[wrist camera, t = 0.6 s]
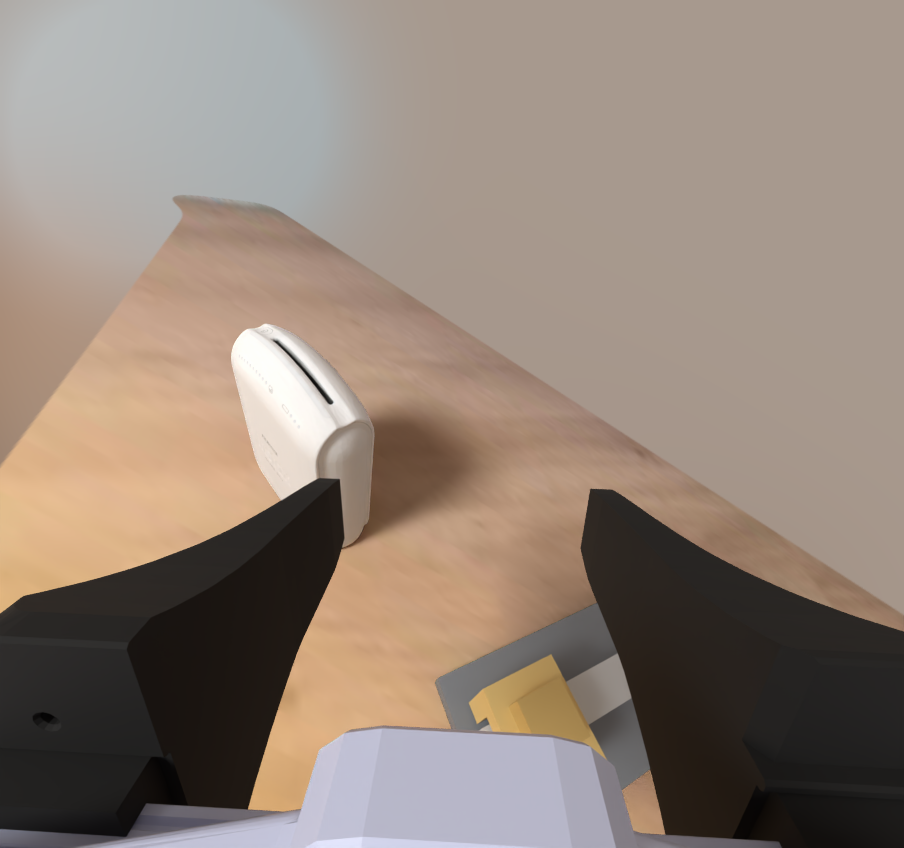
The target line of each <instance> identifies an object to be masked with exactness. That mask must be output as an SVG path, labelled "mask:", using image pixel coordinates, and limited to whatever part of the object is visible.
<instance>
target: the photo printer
mask: <svg viewBox="0 0 904 848" xmlns="http://www.w3.org/2000/svg"><path fill="white" fill-rule="evenodd" d="M231 362H232V367H233V371H234V375H235V379H236V383H237V387H238V391H239V396H240V400H241V404H242V408H243V412H244V416H245V419H246V424H247V427H248V431H249V436H250V440H251V443H252V447H253V451H254V455H255V458H256V461H257V463H258V465H259V467H260V469H261V471H262V473H263V474H264V476H265V478H266V479H267V481H268V482H269V484H270V485H271V487H272V488H273V489H274V491H275V492H276V494H277V495H278V497H279V498H280V500H283V499H284V498H286V497H288V496H289V495H291V494H293V493H294V492H296V491H297V490H299V489H301V488H302V487H304V486H305V485H307V484H309V483H311V482H312V481H314V480H316V479H318V478H331V479H340V487H341V499H342V511H343V523H344V536H345V539H344V542H343V546H342V548H343V547H346V546H348V545H350V544H351V543H353V542H354V541H355V540H356V539H357V538H358V537H359V536H360V534H361V532H362V530H363V527H364V525H365V524H367V523H368V520H369V513H370V495H371V480H372V465H373V451H374V436H375V434H374V427H373V425H372V422H371V420H370V418H369V416H368V414H367V411H366V409H365V408H364V406H363V405H362V403H361V402H360V400H359V399H358V397H357V396H356V395H355V393H354V392H353V391H352V389H351V388H350V387H349V386H348V384H347V383H346V382H345V380H344V379H343V378H342V377H341V376H340V375H339V373H338V372H337V370H336V369H335V368H334V367H332V366H331V364H330V363H329V362H328V361H327V360H326V359H324V358H323V356H322V355H321V354H319V353H318V352H317V351H316V350H315V349H314V348H313V347H311V346H310V345H309V344H308V343H307V342H305V341H304V340H302V339H301V338H300V337H298V336H297V335H295V334H294V333H292V332H290V331H288V330H286V329H283V328H281V327H278V326H275V325H272V324H264V325H262V326H260V327H258V328H253V329H247V330H245V331H244V332H243V333H242V334H241V335H240V336H239V337H238V338H237V340H236V342H235V343H234V346H233V349H232V353H231Z"/></svg>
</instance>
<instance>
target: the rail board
mask: <svg viewBox="0 0 904 848" xmlns="http://www.w3.org/2000/svg"><path fill="white" fill-rule="evenodd" d="M549 655H552V657H553V659H554V661H555V662H556V664H557V666H558V668H559V670H560V672H561V674H562V676H563V678H564V679H565V681H566V683H567V685H568V687H569V689H570V691H571V693H572V695H573V696H574V698H575V700H576V702H577V704H578V706H579V708H580V710H581V712H582V713H583V715H584V717H585V719H586V721H587V723H588V725H589V727H590V729H591V731H592V732H593V734H594V736H595V738H596V740H597V742H598V744H599V746H600V748H601V749H602V751H603V753H604V755H605V757H606V759H607V761H609V762H610V763H611V764H612V765H614V766H615V769H616V773H617V776H618V780H619V783H620V787H621V790H622V789H624V788H625V787H626V786H628V785H629V784H631V783H632V782H633V781H635V780H636V779H637V778H639V777H640V776H641V775H643V774H644V773H646V772H647V771H648V770H650V766H649V761H648V757H647V753H646V749H645V746H644V742H643V738H642V734H641V731H640V727H639V723H638V719H637V715H636V712H635V708H634V705H633V701H632V698H631V694H630V691H629V687H628V684H627V680H626V677H625V673H624V670H623V667H622V664H621V661H620V659H619V656H618V653H617V650H616V648H615V645H614V643H613V641H612V638H611V636H610V633H609V631H608V628H607V626H606V623H605V621H604V618H603V616H602V613H601V611H600V608H599V606H598V603H596V604H593V605H591V606H589V607H587V608H585V609H583V610H581V611H579V612H576V613H574V614H572V615H570V616H568V617H566V618H564V619H562V620H560V621H557V622H555V623H553V624H551V625H549V626H547V627H545V628H543V629H541V630H538V631H536V632H534V633H532V634H530V635H528V636H526V637H524V638H522V639H519V640H517V641H515V642H513V643H511V644H509V645H507V646H505V647H503V648H500V649H498V650H496V651H494V652H492V653H490V654H488V655H486V656H484V657H481V658H479V659H477V660H475V661H473V662H471V663H469V664H467V665H464V666H462V667H460V668H458V669H456V670H454V671H452V672H450V673H448V674H445V675H443V676H441V677H439V678H438V679H437V680H436V682H435V684H436V687H437V690H438V692H439V695H440V698H441V701H442V703H443V706H444V709H445V712H446V714H447V717H448V720H449V723H450V725H451V728H452V729H457V730H475V731H492V729H491V726H490V724H489V722H488V719H486V720H484V721H482V722H480V723H478V724H477V722H476V720H475V717H474V715H473V712H472V710H471V707H470V705H469V702H470V701H471V700H472V699H473V698H474V697H475V696H476V695H477V694H478V693H479V692H480V691H481V690H482V689H484V688H486V687H488V686H490V685H492V684H494V683H495V682H497V681H499V680H501V679H503V678H505V677H507V676H509V675H511V674H513V673H515V672H517V671H519V670H521V669H523V668H525V667H527V666H529V665H531V664H533V663H535V662H537V661H539V660H541V659H543V658H545V657H547V656H549Z"/></svg>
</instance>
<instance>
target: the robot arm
mask: <svg viewBox="0 0 904 848" xmlns="http://www.w3.org/2000/svg"><path fill="white" fill-rule="evenodd" d="M344 539H345V536H344V523H343V511H342V499H341V487H340V479H331V478H318V479H316V480H314V481H312V482H311V483H309V484H307V485H305V486H304V487H302V488H301V489H299V490H297V491H296V492H294V493H293V494H291V495H289V496H288V497H286V498H284V499H283V500H281V501H280V502H278V503H276V504H275V505H273V506H271V507H270V508H268V509H266V510H265V511H263V512H261V513H259V514H257V515H256V516H254V517H252V518H250V519H248V520H247V521H245V522H243V523H241V524H239V525H238V526H236V527H234V528H232V529H230V530H228V531H226V532H224V533H222V534H220V535H217V536H215V537H213V538H211V539H209V540H206V541H204V542H202V543H200V544H197V545H195V546H193V547H190V548H187V549H185V550H182V551H179V552H177V553H174V554H171V555H169V556H166V557H164V558H161V559H158V560H156V561H153V562H150V563H147V564H144V565H141V566H138V567H135V568H131V569H128V570H125V571H122V572H118V573H115V574H111V575H108V576H105V577H101V578H97V579H94V580H90V581H86V582H82V583H78V584H74V585H69V586H65V587H61V588H57V589H53V590H48V591H44V592H40V593H35V594H31V595H26V596H23V597H22V598H20V599H19V600H17V601H16V602H15V603H14V604H12V605H11V606H10V607H8V608H7V609H6V610H4V611H3V612H2V613H1V614H0V848H904V632H903V631H900V630H897V629H894V628H890V627H887V626H884V625H881V624H878V623H874V622H871V621H868V620H865V619H862V618H858V617H855V616H853V615H850V614H847V613H844V612H841V611H839V610H836V609H833V608H831V607H828V606H825V605H822V604H820V603H817V602H814V601H812V600H809V599H807V598H804V597H802V596H799V595H797V594H794V593H792V592H789V591H787V590H785V589H782V588H780V587H778V586H776V585H773V584H771V583H769V582H767V581H764V580H762V579H760V578H758V577H755V576H753V575H751V574H749V573H747V572H745V571H743V570H741V569H739V568H737V567H735V566H733V565H731V564H729V563H727V562H726V561H724V560H722V559H720V558H718V557H716V556H714V555H712V554H711V553H709V552H707V551H705V550H704V549H702V548H700V547H699V546H697V545H695V544H694V543H692V542H690V541H689V540H687V539H685V538H684V537H682V536H681V535H679V534H678V533H676V532H674V531H673V530H671V529H670V528H668V527H667V526H665V525H664V524H662V523H661V522H659V521H658V520H657V519H655V518H654V517H652V516H651V515H649V514H648V513H646V512H645V511H644V510H642V509H641V508H639V507H638V506H636V505H635V504H634V503H632V502H631V501H629V500H628V499H626V498H625V497H623V496H622V495H620V494H619V493H617V492H615V491H613V490H606V489H590V494H589V500H588V507H587V513H586V519H585V525H584V531H583V537H582V543H581V552H582V556H583V561H584V565H585V569H586V573H587V577H588V580H589V583H590V585H591V588H592V591H593V593H594V596H595V598H596V601H597V603H598V606H599V608H600V611H601V613H602V616H603V618H604V621H605V623H606V626H607V628H608V631H609V633H610V636H611V638H612V641H613V643H614V645H615V648H616V650H617V653H618V656H619V659H620V661H621V664H622V667H623V670H624V673H625V677H626V680H627V684H628V687H629V691H630V694H631V698H632V701H633V705H634V708H635V712H636V715H637V719H638V723H639V727H640V731H641V734H642V738H643V742H644V746H645V749H646V753H647V757H648V761H649V766H650V770H651V774H652V778H653V782H654V786H655V790H656V794H657V799H658V803H659V807H660V811H661V816H662V820H663V825H664V830H665V834H666V835H660V834H644V833H639V832H636V831H633V828H632V825H631V821H630V818H629V814H628V811H627V808H626V804H625V801H624V797H623V794H622V790H621V787H620V783H619V780H618V776H617V773H616V769H615V766H614V765H612V764H611V763H610V762H609V761H607V760H606V759H605V758H604V757H603V756H601V755H600V754H599V753H598V752H596V751H595V750H594V749H593V748H592V747H590V746H589V745H587V744H585V743H583V742H579V741H575V740H571V739H567V738H562V737H558V736H554V735H548V734H530V733H511V732H493V731H475V730H457V729H438V728H420V727H402V726H377V727H369V728H361V729H353V730H350V731H348V732H346V733H344V734H343V735H341V736H340V737H338V738H336V739H335V740H333V741H332V742H330V743H329V744H327V745H326V746H324V747H323V748H321V749H320V750H319V753H318V756H317V759H316V763H315V766H314V769H313V773H312V776H311V779H310V782H309V786H308V789H307V792H306V795H305V799H304V802H303V805H302V809H297V810H291V811H286V812H280V811H263V810H248V806H249V803H250V799H251V796H252V792H253V788H254V785H255V781H256V778H257V775H258V772H259V768H260V765H261V762H262V758H263V755H264V752H265V748H266V745H267V742H268V738H269V735H270V732H271V729H272V726H273V723H274V720H275V716H276V713H277V710H278V707H279V704H280V701H281V698H282V695H283V692H284V689H285V686H286V683H287V680H288V677H289V675H290V672H291V669H292V666H293V663H294V660H295V657H296V654H297V652H298V649H299V647H300V645H301V642H302V640H303V637H304V635H305V633H306V631H307V629H308V627H309V625H310V622H311V620H312V618H313V616H314V614H315V612H316V610H317V607H318V605H319V603H320V601H321V599H322V597H323V595H324V593H325V590H326V588H327V586H328V584H329V582H330V579H331V577H332V575H333V573H334V571H335V568H336V565H337V562H338V559H339V556H340V552H341V549H342V546H343V542H344Z"/></svg>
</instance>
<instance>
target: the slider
mask: <svg viewBox="0 0 904 848" xmlns="http://www.w3.org/2000/svg"><path fill="white" fill-rule="evenodd" d="M469 705H470V707H471V710H472V712H473V715H474V717H475V720H476V722H477V724H478V723H480V722H482V721H484V720H486V719H488V722H489V724H490V726H491V729H492V731H493V732H511V733H530V734H548V735H554V736H558V737H562V738H567V739H571V740H575V741H579V742H583V743H585V744H587V745H589V746H590V747H592V748H593V749H594V750H595V751H596V752H598V753H599V754H600V755H601V756H603V757H604V758H605V759H606V757H605V755H604V753H603V751H602V749H601V748H600V746H599V744H598V742H597V740H596V738H595V736H594V734H593V732H592V731H591V729H590V727H589V725H588V723H587V721H586V719H585V717H584V715H583V713H582V712H581V710H580V708H579V706H578V704H577V702H576V700H575V698H574V696H573V695H572V693H571V691H570V689H569V687H568V685H567V683H566V681H565V679H564V678H563V676H562V674H561V672H560V670H559V668H558V666H557V664H556V662H555V661H554V659H553V657H552V655H549V656H547V657H545V658H543V659H541V660H539V661H537V662H535V663H533V664H531V665H529V666H527V667H525V668H523V669H521V670H519V671H517V672H515V673H513V674H511V675H509V676H507V677H505V678H503V679H501V680H499V681H497V682H495V683H494V684H492V685H490V686H488V687H486V688H484V689H482V690H481V691H480V692H479V693H478V694H477V695H476V696H475V697H474V698H473V699H472V700H471V701H470V702H469ZM606 760H607V759H606Z"/></svg>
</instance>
